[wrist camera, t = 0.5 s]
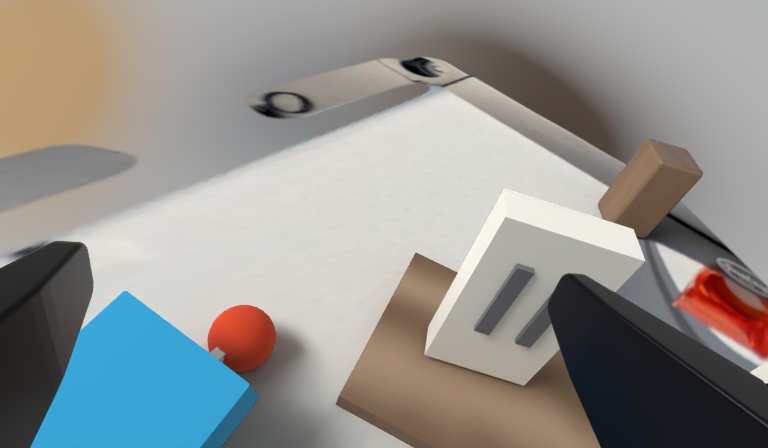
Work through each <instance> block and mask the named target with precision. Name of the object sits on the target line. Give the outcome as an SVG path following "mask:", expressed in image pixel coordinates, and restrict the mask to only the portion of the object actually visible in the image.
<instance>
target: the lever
mask: <svg viewBox="0 0 768 448" xmlns="http://www.w3.org/2000/svg"><path fill="white" fill-rule="evenodd" d="M275 337H276V332H275V327H274V325H273V322H272V321H271V319H270V317H269V316H268V315H267V314H266V313H265V312H264V311H262V310H260V309H259V308H257V307H254V306H250V305H239V306H235V307H231V308H229V309H228V310H226V311H224V312H223V313H222V314H220V315H219V316H218V317H217V319H216V320H215V321H214V322H213V324H212V326H211V328H210V331H209V334H208V348H209V351H210V353H208V352H207V351H206V350H204V349H203V348H202V347H200V346H199V345H198V344H196V343H195V342H194V341H192V340H191V339H190V338H188V337H187V336H186V335H184V334H183V333H182V332H180V331H179V330H178V329H176V328H175V327H174V326H172V325H171V324H170V323H168V322H167V321H166V320H164V319H163V318H162V317H160V316H159V315H158V314H156V313H155V312H154V311H152V310H151V309H150V308H148V307H147V306H146V305H144V304H143V303H142V302H140V301H139V300H138V299H136V298H135V297H134V296H132V295H131V294H130V293H128V292H127V291H124V292H122V293H121V294H120V295H119V296H118V297H117V298H116V299H115V300H114V301H113V302H111V303H110V304H109V305H108V306H107V307H106V308H105V309H104V310H103V311H102V312H100V313H99V314H98V315H97V316H96V317H95V318H94V319H93V320H92V321H91V322H89V323H88V324H87V325H86V326H85V327H84V328H83V329H82V330H81V331H80V332H79V335H78V338H77V341H76V344H75V347H74V350H73V353H72V356H71V358H70V361H69V364H68V367H67V370H66V373H65V375H64V378H63V380H62V383H61V385H60V387H59V389H58V392H57V394H56V396H55V398H54V400H53V402H52V404H51V406H50V408H49V410H48V412H47V414H46V416H45V419H44V421H43V423H42V425H41V427H40V429H39V431H38V433H37V435H36V437H35V439H34V441H33V443H32V445H31V447H30V448H221V447H222V445H223V444H224V443H225V441H226V440H227V439H228V438H229V436H230V435H231V434H232V432H233V431H234V430H235V428H236V427H237V426H238V425H239V423H240V422H241V421H242V419H243V418H244V417H245V416H246V414H247V413H248V412H249V410H250V409H251V408H252V406H253V405H254V404H255V403H256V401H257V400H258V396H257V394H256V393H255V391H254V390H253V388H252V387H251V385H250V384H249V383H248V382H247V381H246V380H244V379H243V378H242V377H240V376H239V375H238V374H236V373H235V372H244V371H249V370H252V369H254V368H256V367H257V366H259V365H260V364H262V363H263V362H265V360H266V359H267V358H268V356H269V355H270V354H271V352H272V350H273V348H274V344H275Z"/></svg>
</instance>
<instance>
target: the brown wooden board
mask: <svg viewBox="0 0 768 448" xmlns="http://www.w3.org/2000/svg"><path fill="white" fill-rule="evenodd" d="M457 274H458V273H457V272H455V271H453V270H451V269H449V268H447V267H445V266H443V265H441V264H439V263H436V262H434V261H432V260H430V259H428V258H426V257H424V256H422V255H420V254H418V253H415V255H414V257H413V259H412V261H411V262H410V264H409V266H408V268H407V270H406V272H405V274H404V276H403V277H402V279H401V281H400V283H399V285H398V287H397V289H396V290H395V292H394V294H393V296H392V298H391V300H390V302H389V304H388V305H387V307H386V309H385V311H384V313H383V315H382V317H381V319H380V320H379V322H378V324H377V326H376V328H375V330H374V332H373V333H372V335H371V337H370V339H369V341H368V343H367V345H366V347H365V348H364V350H363V352H362V354H361V356H360V358H359V360H358V361H357V363H356V365H355V367H354V369H353V371H352V373H351V375H350V376H349V378H348V380H347V382H346V384H345V386H344V388H343V390H342V391H341V393H340V395H339V397H338V400H337V403H336V405H338V406H340V407H342V408H343V409H345V410H347V411H349V412H351V413H353V414H354V415H356V416H358V417H360V418H362V419H363V420H365V421H367V422H369V423H371V424H373V425H374V426H376V427H378V428H380V429H382V430H383V431H385V432H387V433H389V434H391V435H393V436H394V437H396V438H398V439H400V440H402V441H404V442H405V443H407V444H409V445H411V446H413V447H414V448H601V447H600V445H599V443H598V441H597V438H596V436H595V434H594V432H593V429H592V427H591V425H590V423H589V420H588V418H587V416H586V414H585V411H584V409H583V407H582V404H581V402H580V400H579V398H578V395H577V393H576V391H575V389H574V386H573V384H572V382H571V379H570V377H569V374H568V371H567V369H566V366H565V363H564V360H563V357H562V354H561V351H560V349H559V350H558V351H557V352H556V353H555V354H554V355H553V356H552V357H551V359H550V360H549V361H548V362H547V363H546V364H545V365H544V366H543V367H542V368H541V369H540V370H539V371H538V372H537V373H536V374H535V375H534V376H533V377H532V378H531V379H530V380H529V381H528V382H527V383H526V384H525V385H524V386H523V385H520V384H516V383H513V382H510V381H507V380H504V379H500V378H497V377H494V376H491V375H487V374H484V373H481V372H478V371H474V370H471V369H468V368H465V367H462V366H458V365H455V364H452V363H449V362H445V361H442V360H439V359H436V358H433V357H429V356H426V355H424V354H425V347H426V340H427V332H428V326H429V324H430V323H431V321H432V319H433V317H434V315H435V313H436V312H437V310H438V308H439V306H440V304H441V303H442V301H443V299H444V297H445V295H446V294H447V292H448V290H449V288H450V286H451V284H452V283H453V281H454V279H455V277H456V275H457Z"/></svg>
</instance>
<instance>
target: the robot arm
mask: <svg viewBox="0 0 768 448" xmlns="http://www.w3.org/2000/svg"><path fill="white" fill-rule="evenodd" d="M92 293H93V277H92V271H91V265H90V260H89V254H88V249H87V247H86V245H84V244H83V243H81V242H68V241H54V242H52V243H49V244H47V245H45V246H43V247H41V248H39V249H37V250H35V251H33V252H31V253H29V254H27V255H25V256H23V257H21V258H20V259H18V260H16V261H14V262H12V263H10V264H8V265H6V266H4V267H2V268H0V448H30V447H31V445H32V443H33V441H34V439H35V437H36V435H37V433H38V431H39V429H40V427H41V425H42V423H43V421H44V419H45V416H46V414H47V412H48V410H49V408H50V406H51V404H52V402H53V400H54V398H55V396H56V394H57V392H58V389H59V387H60V385H61V383H62V380H63V378H64V375H65V373H66V370H67V367H68V364H69V361H70V358H71V356H72V353H73V350H74V347H75V344H76V341H77V338H78V335H79V332H80V329H81V326H82V323H83V320H84V317H85V314H86V311H87V308H88V305H89V302H90V300H91V297H92ZM547 311H548V315H549V318H550V321H551V324H552V327H553V330H554V333H555V336H556V339H557V342H558V345H559V348H560V351H561V354H562V357H563V360H564V363H565V366H566V369H567V371H568V374H569V377H570V379H571V382H572V384H573V386H574V389H575V391H576V393H577V395H578V398H579V400H580V402H581V404H582V407H583V409H584V411H585V414H586V416H587V418H588V420H589V423H590V425H591V427H592V429H593V432H594V434H595V436H596V438H597V441H598V443H599V445H600V447H601V448H768V383H764V381H763V380H761V379H760V378H758V377H756V376H755V375H753V374H751V373H750V372H748V371H746V370H744V369H743V368H741V367H739V366H738V365H736V364H734V363H733V362H731V361H729V360H728V359H726V358H724V357H723V356H721V355H719V354H718V353H716V352H714V351H712V350H711V349H709V348H707V347H706V346H704V345H702V344H701V343H699V342H697V341H696V340H694V339H692V338H691V337H689V336H687V335H686V334H684V333H682V332H681V331H679V330H677V329H675V328H674V327H672V326H670V325H669V324H667V323H665V322H664V321H662V320H660V319H659V318H657V317H655V316H654V315H652V314H650V313H649V312H647V311H645V310H643V309H642V308H640V307H638V306H637V305H635V304H633V303H632V302H630V301H628V300H627V299H625V298H623V297H622V296H620V295H618V294H617V293H615V292H613V291H611V290H610V289H608V288H606V287H605V286H603V285H601V284H600V283H598V282H596V281H595V280H593V279H591V278H590V277H588V276H586V275H584V274H575V273H567V274H564V275H563V276H562V277H561V278H560V280H559V282H558V284H557V286H556V287H555V289H554V291H553V293H552V295H551V297H550V298H549V301H548V304H547Z"/></svg>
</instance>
